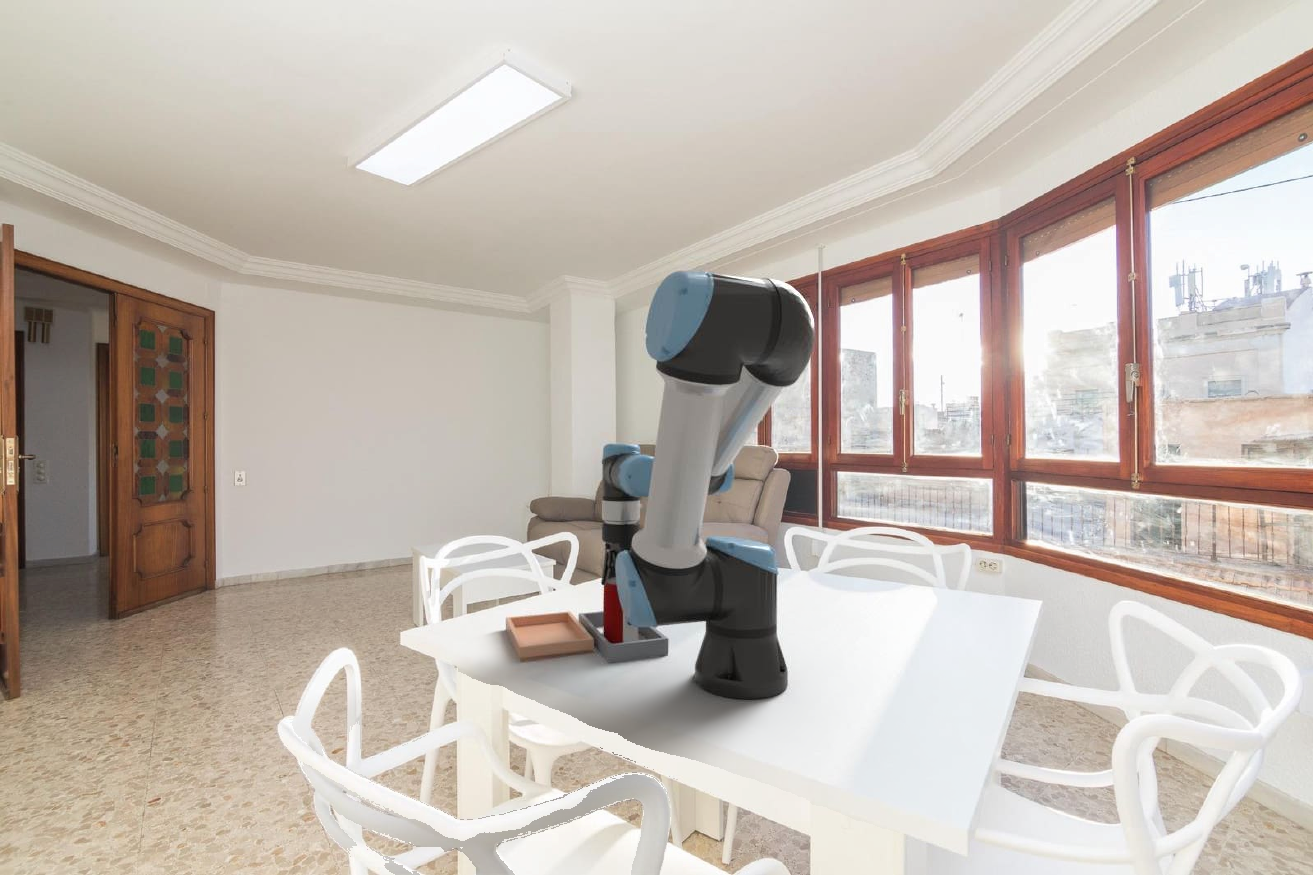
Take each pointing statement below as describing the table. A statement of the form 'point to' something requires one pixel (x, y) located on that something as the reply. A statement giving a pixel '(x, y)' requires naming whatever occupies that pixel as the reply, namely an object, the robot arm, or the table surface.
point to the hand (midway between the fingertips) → (620, 631)
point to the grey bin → (627, 650)
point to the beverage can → (612, 613)
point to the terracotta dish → (548, 636)
